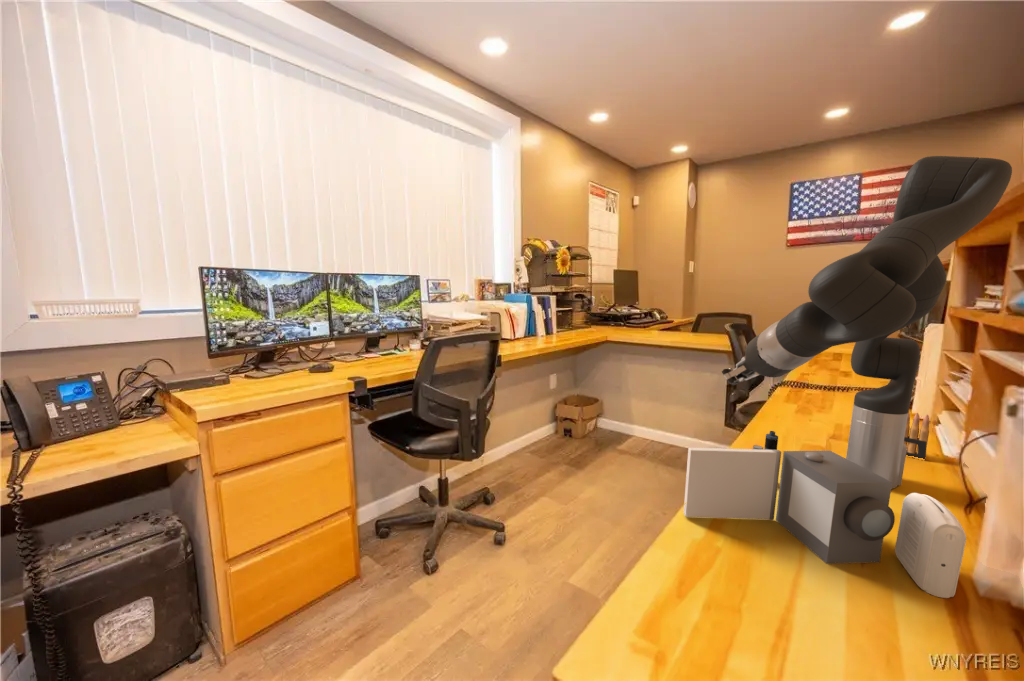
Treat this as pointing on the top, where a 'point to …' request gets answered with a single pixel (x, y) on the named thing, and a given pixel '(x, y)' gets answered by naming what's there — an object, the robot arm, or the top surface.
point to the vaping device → (769, 442)
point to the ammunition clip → (913, 436)
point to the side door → (731, 483)
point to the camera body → (834, 506)
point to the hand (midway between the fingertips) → (732, 379)
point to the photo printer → (930, 544)
